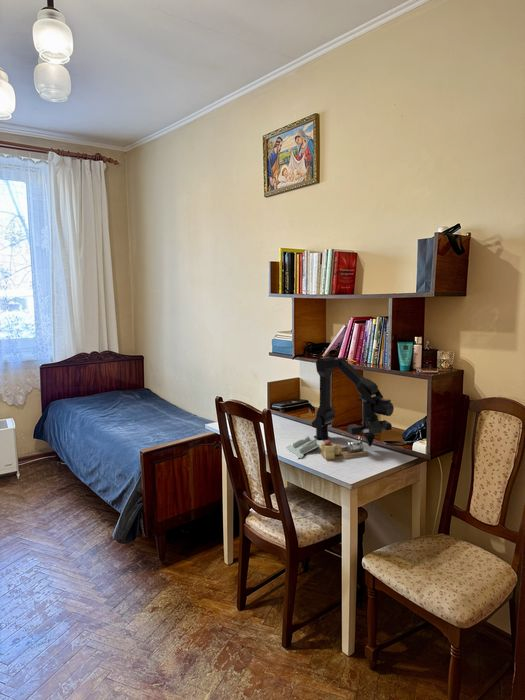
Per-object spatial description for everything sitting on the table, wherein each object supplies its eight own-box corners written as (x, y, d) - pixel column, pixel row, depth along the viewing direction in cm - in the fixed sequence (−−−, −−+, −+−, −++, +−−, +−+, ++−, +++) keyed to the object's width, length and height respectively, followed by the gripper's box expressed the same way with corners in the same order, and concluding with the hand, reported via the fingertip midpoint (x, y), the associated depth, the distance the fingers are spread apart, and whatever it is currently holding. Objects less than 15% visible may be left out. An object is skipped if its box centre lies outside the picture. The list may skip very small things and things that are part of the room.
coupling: (346, 451, 208) (345, 440, 207) (358, 449, 209) (358, 438, 208) (350, 455, 203) (350, 444, 202) (363, 453, 204) (363, 442, 203)
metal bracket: (308, 432, 221) (323, 442, 207) (312, 442, 222) (327, 453, 208) (281, 445, 217) (294, 456, 203) (285, 456, 218) (298, 468, 204)
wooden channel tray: (319, 454, 208) (318, 438, 207) (357, 448, 212) (357, 433, 210) (327, 462, 198) (327, 446, 197) (367, 456, 202) (367, 440, 201)
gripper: (357, 419, 195) (357, 455, 197) (398, 414, 199) (398, 449, 202) (346, 412, 206) (347, 446, 208) (385, 407, 210) (385, 441, 212)
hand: (369, 446), depth 207 cm, fingers closed
